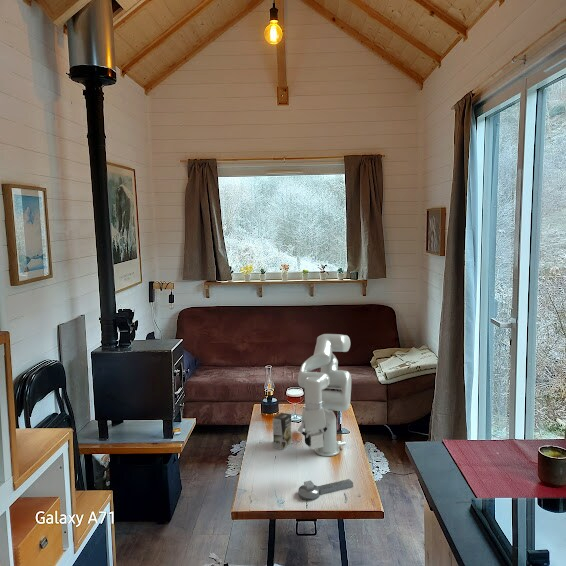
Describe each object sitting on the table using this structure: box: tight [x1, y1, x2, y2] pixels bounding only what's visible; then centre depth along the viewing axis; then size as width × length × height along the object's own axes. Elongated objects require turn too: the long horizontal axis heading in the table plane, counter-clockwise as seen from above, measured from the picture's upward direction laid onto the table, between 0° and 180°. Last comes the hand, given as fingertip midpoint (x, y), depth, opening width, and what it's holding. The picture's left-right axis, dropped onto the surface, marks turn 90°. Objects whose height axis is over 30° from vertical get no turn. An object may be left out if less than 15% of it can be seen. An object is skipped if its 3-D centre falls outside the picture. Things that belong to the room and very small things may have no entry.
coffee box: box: [272, 412, 293, 451], centre depth 277 cm, size 9×6×16 cm
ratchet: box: [298, 478, 354, 501], centre depth 230 cm, size 25×9×6 cm, turn 111°
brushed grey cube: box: [305, 430, 323, 450], centre depth 239 cm, size 6×6×6 cm
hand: (314, 443), depth 239 cm, fingers closed on brushed grey cube, 6 cm apart
